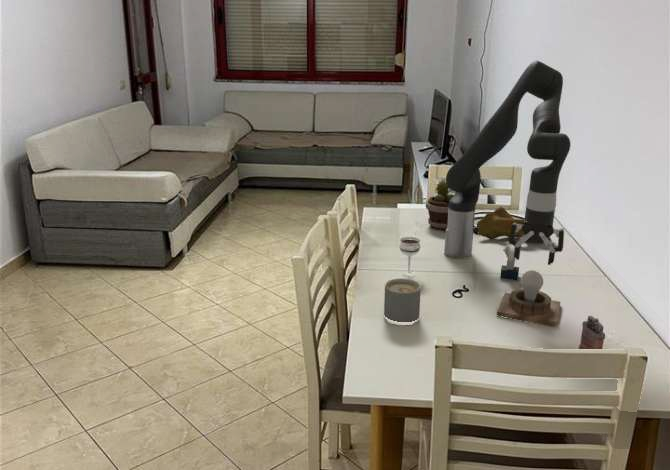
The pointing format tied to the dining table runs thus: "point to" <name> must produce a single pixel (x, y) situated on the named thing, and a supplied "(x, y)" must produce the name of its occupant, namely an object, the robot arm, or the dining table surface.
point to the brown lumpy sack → (592, 334)
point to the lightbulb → (531, 285)
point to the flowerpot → (439, 207)
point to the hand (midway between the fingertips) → (533, 261)
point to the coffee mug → (402, 300)
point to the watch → (509, 265)
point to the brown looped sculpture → (498, 224)
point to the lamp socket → (529, 308)
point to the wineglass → (409, 247)
